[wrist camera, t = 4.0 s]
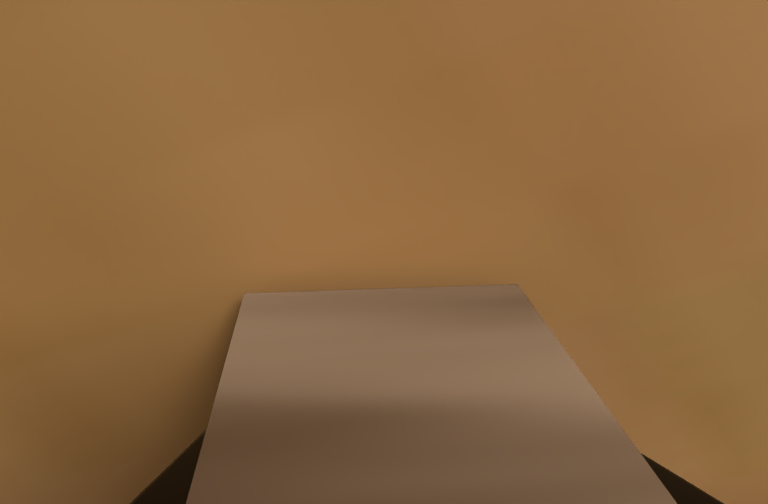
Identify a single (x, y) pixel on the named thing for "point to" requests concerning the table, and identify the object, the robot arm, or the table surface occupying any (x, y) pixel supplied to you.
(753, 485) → the table surface
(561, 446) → the taupe block mallet
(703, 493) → the robot arm
